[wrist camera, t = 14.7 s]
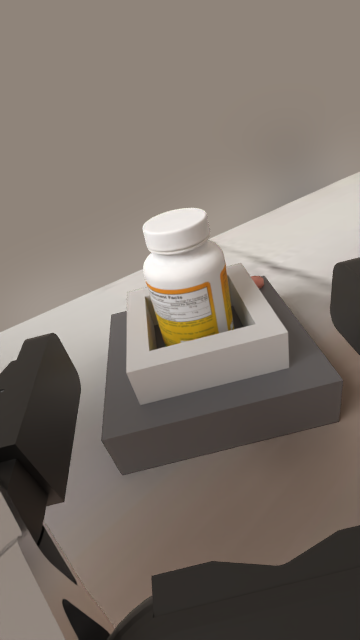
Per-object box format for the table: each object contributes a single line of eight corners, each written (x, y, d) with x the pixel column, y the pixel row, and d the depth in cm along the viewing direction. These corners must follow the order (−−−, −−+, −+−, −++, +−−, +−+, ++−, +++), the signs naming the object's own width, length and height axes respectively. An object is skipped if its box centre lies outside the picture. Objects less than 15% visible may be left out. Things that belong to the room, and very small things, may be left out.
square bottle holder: (121, 475, 22) (82, 408, 18) (124, 346, 34) (100, 288, 30) (338, 421, 22) (346, 342, 18) (266, 309, 34) (262, 246, 30)
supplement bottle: (199, 313, 29) (176, 200, 23) (250, 334, 25) (237, 206, 19) (152, 348, 26) (113, 230, 20) (201, 377, 22) (170, 244, 17)
